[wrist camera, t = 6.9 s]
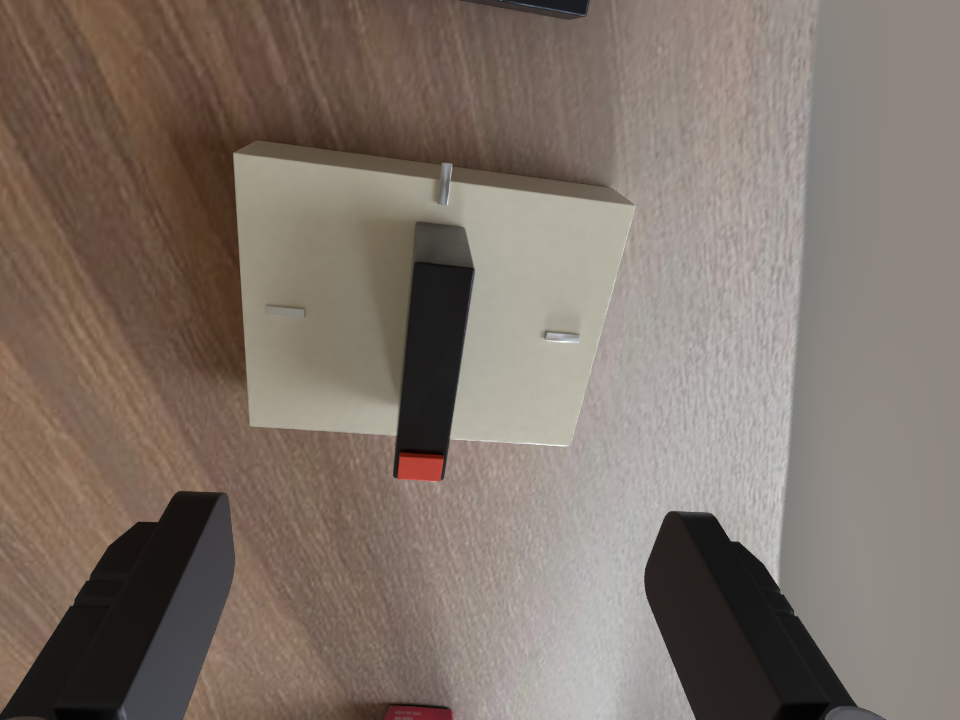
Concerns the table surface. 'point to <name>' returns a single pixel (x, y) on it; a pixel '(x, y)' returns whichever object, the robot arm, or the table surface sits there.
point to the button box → (543, 7)
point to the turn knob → (432, 349)
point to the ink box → (417, 713)
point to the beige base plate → (386, 279)
